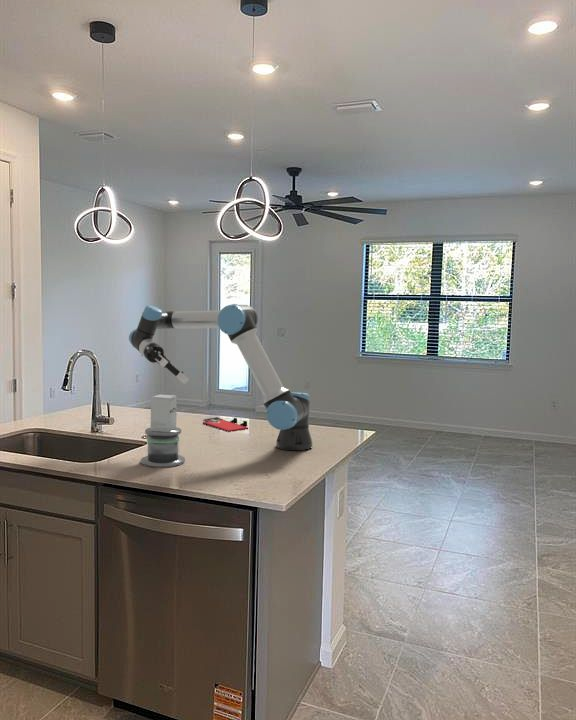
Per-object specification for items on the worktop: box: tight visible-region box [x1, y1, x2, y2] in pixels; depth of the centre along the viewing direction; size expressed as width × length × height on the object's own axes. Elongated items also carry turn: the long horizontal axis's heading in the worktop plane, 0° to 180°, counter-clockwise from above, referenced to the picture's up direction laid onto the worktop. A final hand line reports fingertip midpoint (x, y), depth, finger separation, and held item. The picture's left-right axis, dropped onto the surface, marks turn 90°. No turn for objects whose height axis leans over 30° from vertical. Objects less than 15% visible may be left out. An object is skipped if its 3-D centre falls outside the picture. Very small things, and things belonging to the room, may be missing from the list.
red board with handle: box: [202, 416, 249, 433], centre depth 288 cm, size 30×3×15 cm
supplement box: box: [150, 394, 178, 432], centre depth 215 cm, size 7×7×13 cm
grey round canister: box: [140, 426, 186, 468], centre depth 216 cm, size 16×16×12 cm
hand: (176, 373), depth 227 cm, fingers open, 13 cm apart
